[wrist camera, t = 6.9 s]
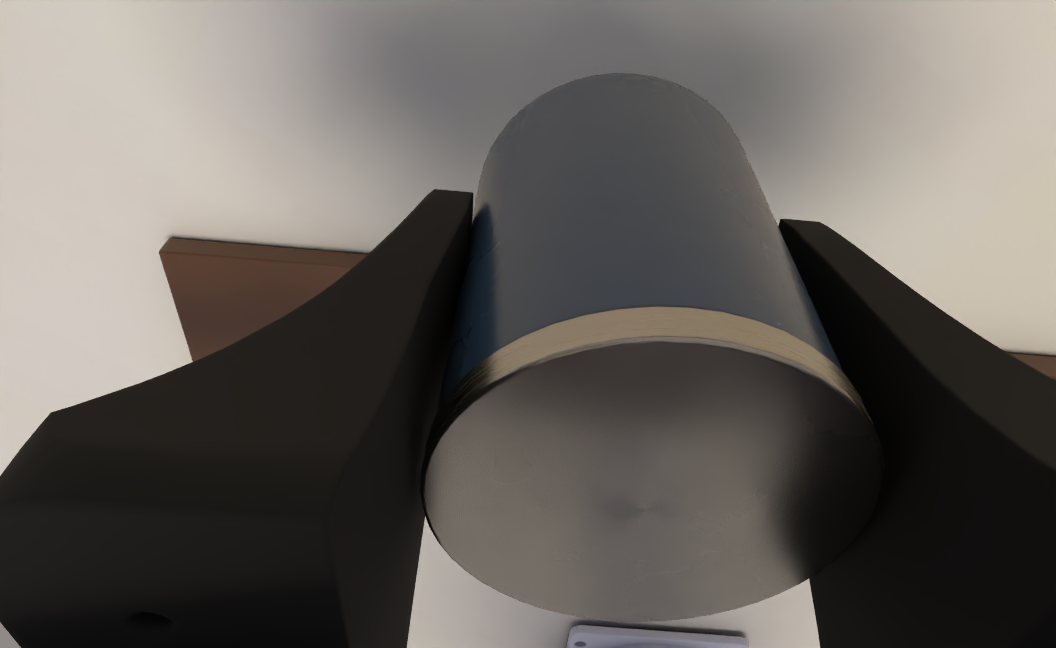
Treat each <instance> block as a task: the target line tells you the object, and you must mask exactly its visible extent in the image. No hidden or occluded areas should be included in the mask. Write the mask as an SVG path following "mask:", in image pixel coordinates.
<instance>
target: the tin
mask: <svg viewBox="0 0 1056 648" xmlns="http://www.w3.org/2000/svg"><path fill="white" fill-rule="evenodd" d="M883 476H884V459H883V452H882V446H881V443H880V441H879V438H878V435H877V432H876V430H875V427H874V425H873V423H872V421H871V418H870V416H869V414H868V412H867V410H866V407H865V405H864V403H863V401H862V399H861V397H860V396H859V394H858V393H857V391H856V389H855V388H854V386H853V385H852V383H851V382H850V380H849V379H848V378H847V377H846V376H845V374H844V372H843V370H842V367H841V365H840V363H839V361H838V359H837V356H836V354H835V352H834V350H833V347H832V345H831V343H830V341H829V339H828V336H827V334H826V332H825V330H824V327H823V325H822V323H821V321H820V319H819V316H818V314H817V312H816V310H815V307H814V305H813V303H812V301H811V299H810V296H809V294H808V292H807V290H806V287H805V285H804V283H803V281H802V279H801V276H800V274H799V272H798V270H797V268H796V265H795V263H794V261H793V259H792V256H791V254H790V252H789V250H788V248H787V245H786V243H785V241H784V239H783V236H782V234H781V232H780V230H779V228H778V225H777V223H776V221H775V219H774V216H773V214H772V212H771V210H770V208H769V205H768V203H767V201H766V199H765V196H764V194H763V192H762V190H761V188H760V185H759V183H758V181H757V179H756V176H755V174H754V172H753V170H752V168H751V165H750V163H749V161H748V159H747V157H746V154H745V152H744V150H743V148H742V145H741V143H740V141H739V139H738V137H737V136H736V134H735V132H734V131H733V129H732V127H731V126H730V124H729V123H728V122H727V121H726V120H725V118H724V117H723V116H722V115H721V114H720V112H719V111H717V110H716V109H715V108H714V107H713V106H712V105H711V104H709V103H708V102H707V101H706V100H705V99H703V98H701V97H700V96H698V95H697V94H695V93H694V92H692V91H691V90H689V89H686V88H684V87H682V86H680V85H678V84H676V83H673V82H670V81H667V80H663V79H660V78H657V77H652V76H646V75H639V74H621V73H614V74H604V75H595V76H591V77H587V78H583V79H578V80H575V81H572V82H569V83H567V84H564V85H561V86H559V87H556V88H555V89H553V90H551V91H549V92H547V93H545V94H543V95H541V96H540V97H538V98H537V99H535V100H534V101H533V102H531V103H530V104H528V105H527V106H526V107H524V108H523V109H522V110H521V111H520V112H519V113H518V114H517V115H516V116H515V117H514V118H512V119H511V120H510V122H509V123H508V124H507V125H506V127H505V128H504V129H503V130H502V131H501V133H500V134H499V136H498V137H497V139H496V141H495V142H494V144H493V145H492V147H491V149H490V151H489V153H488V156H487V158H486V161H485V163H484V166H483V170H482V173H481V177H480V181H479V187H478V192H477V198H476V203H475V208H474V214H473V219H472V228H471V233H470V238H469V244H468V249H467V255H466V260H465V265H464V269H463V274H462V278H461V284H460V289H459V294H458V300H457V305H456V310H455V316H454V321H453V327H452V332H451V337H450V343H449V348H448V353H447V359H446V364H445V370H444V375H443V380H442V386H441V391H440V396H439V402H438V407H437V413H436V416H435V418H434V420H433V422H432V424H431V427H430V431H429V434H428V438H427V442H426V446H425V452H424V457H423V462H422V467H421V477H420V494H421V501H422V507H423V510H424V513H425V516H426V519H427V522H428V524H429V527H430V529H431V530H432V532H433V534H434V536H435V537H436V539H437V541H438V542H439V544H440V545H441V546H442V547H443V548H444V550H445V551H446V552H447V553H448V555H449V556H450V557H451V558H452V559H453V560H454V561H455V562H457V563H458V564H459V565H460V566H461V567H462V568H463V569H464V570H465V571H467V572H468V573H470V574H471V575H473V576H474V577H475V578H477V579H478V580H480V581H481V582H483V583H484V584H486V585H488V586H490V587H492V588H493V589H495V590H497V591H499V592H501V593H503V594H505V595H508V596H510V597H512V598H514V599H517V600H519V601H522V602H525V603H528V604H530V605H533V606H536V607H539V608H543V609H546V610H550V611H554V612H558V613H562V614H567V615H573V616H578V617H584V618H591V619H601V620H610V621H633V622H640V621H666V620H677V619H687V618H693V617H699V616H706V615H711V614H716V613H720V612H724V611H729V610H733V609H737V608H740V607H743V606H746V605H750V604H753V603H756V602H759V601H762V600H764V599H767V598H769V597H772V596H774V595H777V594H780V593H782V592H784V591H786V590H788V589H790V588H792V587H794V586H796V585H798V584H800V583H802V582H804V581H805V580H807V579H808V578H810V577H812V576H813V575H815V574H817V573H818V572H820V571H821V570H823V569H824V568H825V567H827V566H828V565H829V564H831V563H832V562H833V561H834V560H836V559H837V558H838V557H839V556H840V555H842V554H843V553H844V552H845V551H846V550H847V549H848V548H849V547H850V546H851V545H852V544H853V543H854V542H855V540H856V539H857V538H858V537H859V535H860V534H861V533H862V531H863V530H864V529H865V528H866V526H867V525H868V523H869V521H870V519H871V517H872V515H873V513H874V512H875V510H876V508H877V504H878V501H879V498H880V495H881V492H882V487H883Z"/></svg>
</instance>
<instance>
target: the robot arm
mask: <svg viewBox="0 0 1056 648" xmlns="http://www.w3.org/2000/svg"><path fill="white" fill-rule="evenodd" d="M472 217H473V193H472V192H461V191H449V190H437V189H434V190H433V191H432V192H430V193H429V194H428V195H427V196H426V197H425V198H424V199H423V200H422V201H421V202H420V203H419V204H418V206H417V207H416V208H415V209H414V210H413V211H412V212H411V213H410V214H409V215H408V216H407V217H406V218H405V219H404V220H403V221H402V222H401V223H400V224H399V225H398V226H397V227H396V228H395V229H394V230H393V231H392V232H391V233H390V234H389V235H388V236H387V237H386V238H385V239H384V240H383V241H382V242H381V243H380V244H379V245H378V246H377V247H376V248H375V249H373V250H372V251H371V252H370V253H369V254H368V255H367V256H366V257H365V258H363V259H362V260H361V261H360V262H359V263H357V264H356V265H355V266H354V267H353V268H351V269H350V270H349V271H348V272H346V273H345V274H344V275H343V276H342V277H340V278H339V279H338V280H337V281H336V282H334V283H333V284H332V285H330V286H329V287H328V288H326V289H325V290H324V291H322V292H321V293H319V294H318V295H316V296H315V297H313V298H312V299H310V300H309V301H307V302H306V303H304V304H303V305H301V306H299V307H298V308H296V309H295V310H293V311H292V312H290V313H288V314H287V315H285V316H283V317H282V318H280V319H278V320H276V321H274V322H272V323H270V324H269V325H267V326H265V327H263V328H261V329H259V330H257V331H256V332H254V333H252V334H250V335H248V336H246V337H244V338H243V339H241V340H239V341H237V342H235V343H233V344H231V345H229V346H227V347H225V348H223V349H221V350H219V351H216V352H214V353H212V354H210V355H208V356H205V357H203V358H201V359H199V360H197V361H194V362H192V363H189V364H187V365H185V366H182V367H180V368H177V369H175V370H173V371H170V372H168V373H165V374H163V375H160V376H158V377H155V378H152V379H150V380H147V381H145V382H142V383H139V384H136V385H133V386H130V387H127V388H124V389H122V390H119V391H116V392H113V393H110V394H107V395H104V396H101V397H98V398H95V399H92V400H89V401H86V402H83V403H80V404H77V405H74V406H71V407H68V408H65V409H61V410H58V411H55V412H51V413H50V414H49V416H48V417H47V418H46V419H45V420H44V421H43V422H42V424H41V425H40V426H39V427H38V428H37V430H36V431H35V432H34V433H33V434H32V436H31V437H30V438H29V439H28V441H27V442H26V443H25V444H24V445H23V447H22V448H21V449H20V451H19V452H18V453H17V455H16V456H15V457H14V459H13V460H12V461H11V463H10V464H9V465H8V466H7V468H6V469H5V470H4V472H3V473H2V474H1V476H0V622H1V623H2V625H3V626H4V627H5V628H6V630H7V631H8V632H9V633H10V634H11V636H12V637H13V638H14V639H15V641H16V642H17V643H18V644H19V646H21V648H407V641H408V633H409V626H410V618H411V611H412V604H413V596H414V589H415V582H416V575H417V568H418V561H419V554H420V547H421V540H422V533H423V527H424V520H425V513H424V510H423V507H422V501H421V494H420V477H421V467H422V462H423V457H424V452H425V446H426V442H427V438H428V434H429V431H430V427H431V424H432V422H433V420H434V418H435V416H436V413H437V407H438V402H439V396H440V391H441V386H442V380H443V375H444V370H445V364H446V359H447V353H448V348H449V343H450V337H451V332H452V327H453V321H454V316H455V310H456V305H457V300H458V294H459V289H460V284H461V278H462V274H463V269H464V265H465V260H466V255H467V249H468V244H469V238H470V233H471V228H472ZM778 228H779V230H780V232H781V234H782V236H783V239H784V241H785V243H786V245H787V248H788V250H789V252H790V254H791V256H792V259H793V261H794V263H795V265H796V268H797V270H798V272H799V274H800V276H801V279H802V281H803V283H804V285H805V287H806V290H807V292H808V294H809V296H810V299H811V301H812V303H813V305H814V307H815V310H816V312H817V314H818V316H819V319H820V321H821V323H822V325H823V327H824V330H825V332H826V334H827V336H828V339H829V341H830V343H831V345H832V347H833V350H834V352H835V354H836V356H837V359H838V361H839V363H840V365H841V367H842V370H843V372H844V374H845V376H846V377H847V378H848V379H849V380H850V382H851V383H852V385H853V386H854V388H855V389H856V391H857V393H858V394H859V396H860V397H861V399H862V401H863V403H864V405H865V407H866V410H867V412H868V414H869V416H870V418H871V421H872V423H873V425H874V427H875V430H876V432H877V435H878V438H879V441H880V443H881V446H882V452H883V459H884V476H883V487H882V492H881V495H880V498H879V501H878V504H877V508H876V510H875V512H874V513H873V515H872V517H871V519H870V521H869V523H868V525H867V526H866V528H865V529H864V530H863V531H862V533H861V534H860V535H859V537H858V538H857V539H856V540H855V542H854V543H853V544H852V545H851V546H850V547H849V548H848V549H847V550H846V551H845V552H844V553H843V554H842V555H840V556H839V557H838V558H837V559H836V560H834V561H833V562H832V563H831V564H829V565H828V566H827V567H825V568H824V569H823V570H821V571H820V572H818V573H817V574H815V575H813V576H812V577H810V578H809V580H810V586H811V591H812V597H813V603H814V609H815V615H816V621H817V627H818V634H819V641H820V648H1056V380H1054V379H1052V378H1050V377H1049V376H1047V375H1045V374H1043V373H1042V372H1040V371H1038V370H1036V369H1035V368H1033V367H1031V366H1029V365H1028V364H1026V363H1024V362H1022V361H1021V360H1019V359H1017V358H1015V357H1014V356H1012V355H1010V354H1008V353H1007V352H1005V351H1003V350H1002V349H1000V348H998V347H997V346H995V345H994V344H992V343H990V342H989V341H987V340H985V339H984V338H982V337H981V336H979V335H978V334H976V333H975V332H973V331H972V330H970V329H969V328H967V327H966V326H964V325H963V324H961V323H960V322H958V321H957V320H955V319H954V318H952V317H951V316H949V315H948V314H946V313H945V312H943V311H942V310H941V309H939V308H938V307H936V306H935V305H934V304H932V303H931V302H929V301H928V300H927V299H925V298H924V297H922V296H921V295H920V294H918V293H917V292H916V291H914V290H913V289H911V288H910V287H909V286H907V285H906V284H905V283H903V282H902V281H901V280H899V279H898V278H897V277H895V276H894V275H893V274H892V273H890V272H889V271H888V270H886V269H885V268H884V267H882V266H881V265H880V264H878V263H877V262H876V261H874V260H873V259H872V258H870V257H869V256H868V255H867V254H865V253H864V252H863V251H861V250H860V249H859V248H857V247H856V246H855V245H853V244H852V243H851V242H849V241H848V240H846V239H845V238H844V237H842V236H841V235H839V234H838V233H837V232H835V231H834V230H832V229H831V228H829V227H827V226H826V225H824V224H822V223H820V222H814V221H802V220H790V219H781V220H780V223H779V226H778ZM566 648H749V643H748V640H747V639H745V638H743V637H739V636H725V635H711V634H697V633H684V632H670V631H656V630H642V629H629V628H615V627H601V626H588V625H578V626H574V627H573V628H572V629H571V630H570V634H569V638H568V642H567V647H566Z"/></svg>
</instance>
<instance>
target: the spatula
mask: <svg viewBox="0 0 1056 648" xmlns="http://www.w3.org/2000/svg"><path fill="white" fill-rule="evenodd" d="M159 254H160V258H161V261H162V264H163V267H164V270H165V274H166V277H167V280H168V283H169V286H170V290H171V293H172V296H173V299H174V302H175V306H176V309H177V312H178V315H179V318H180V322H181V325H182V328H183V331H184V335H185V338H186V341H187V344H188V347H189V351H190V354H191V357H192V360H193V362H194V361H197V360H199V359H201V358H203V357H205V356H208V355H210V354H212V353H214V352H216V351H219V350H221V349H223V348H225V347H227V346H229V345H231V344H233V343H235V342H237V341H239V340H241V339H243V338H244V337H246V336H248V335H250V334H252V333H254V332H256V331H257V330H259V329H261V328H263V327H265V326H267V325H269V324H270V323H272V322H274V321H276V320H278V319H280V318H282V317H283V316H285V315H287V314H288V313H290V312H292V311H293V310H295V309H296V308H298V307H299V306H301V305H303V304H304V303H306V302H307V301H309V300H310V299H312V298H313V297H315V296H316V295H318V294H319V293H321V292H322V291H324V290H325V289H326V288H328V287H329V286H330V285H332V284H333V283H334V282H336V281H337V280H338V279H339V278H340V277H342V276H343V275H344V274H345V273H346V272H348V271H349V270H350V269H351V268H353V267H354V266H355V265H356V264H357V263H359V262H360V261H361V260H362V259H363V258H365V257H366V256H367V255H368V254H356V253H344V252H332V251H320V250H308V249H296V248H284V247H272V246H260V245H248V244H236V243H224V242H212V241H200V240H188V239H176V238H170V239H168V240H167V242H166V243H165V244H164V245H163V247H162V248H161V249H160V250H159ZM1008 354H1010V355H1012V356H1014V357H1015V358H1017V359H1019V360H1021V361H1022V362H1024V363H1026V364H1028V365H1029V366H1031V367H1033V368H1035V369H1036V370H1038V371H1040V372H1042V373H1043V374H1045V375H1047V376H1049V377H1050V378H1052V379H1054V380H1056V357H1049V356H1036V355H1024V354H1012V353H1008Z"/></svg>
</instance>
